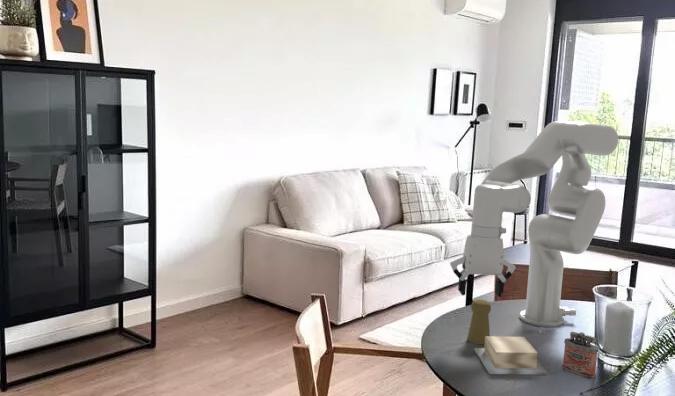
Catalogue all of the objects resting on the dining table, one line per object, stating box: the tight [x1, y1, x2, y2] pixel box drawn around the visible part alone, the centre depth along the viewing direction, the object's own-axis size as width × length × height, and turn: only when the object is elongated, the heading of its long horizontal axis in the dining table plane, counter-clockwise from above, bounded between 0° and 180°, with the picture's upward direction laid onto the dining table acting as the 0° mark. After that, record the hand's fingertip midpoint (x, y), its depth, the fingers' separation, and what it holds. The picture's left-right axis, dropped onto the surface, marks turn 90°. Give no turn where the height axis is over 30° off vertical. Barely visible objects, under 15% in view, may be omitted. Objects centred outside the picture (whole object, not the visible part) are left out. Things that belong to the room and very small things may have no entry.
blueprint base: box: [473, 335, 548, 376], centre depth 157 cm, size 14×14×5 cm
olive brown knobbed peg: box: [466, 299, 492, 345], centre depth 170 cm, size 6×6×11 cm
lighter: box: [561, 331, 599, 381], centre depth 151 cm, size 8×3×10 cm, turn 44°
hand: (480, 294), depth 168 cm, fingers open, 9 cm apart
